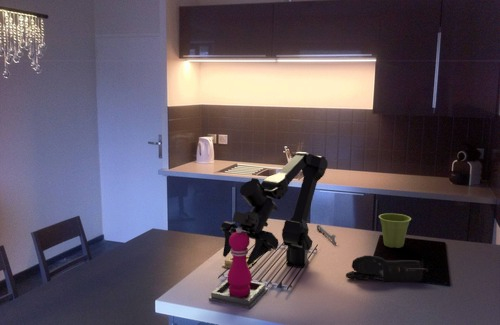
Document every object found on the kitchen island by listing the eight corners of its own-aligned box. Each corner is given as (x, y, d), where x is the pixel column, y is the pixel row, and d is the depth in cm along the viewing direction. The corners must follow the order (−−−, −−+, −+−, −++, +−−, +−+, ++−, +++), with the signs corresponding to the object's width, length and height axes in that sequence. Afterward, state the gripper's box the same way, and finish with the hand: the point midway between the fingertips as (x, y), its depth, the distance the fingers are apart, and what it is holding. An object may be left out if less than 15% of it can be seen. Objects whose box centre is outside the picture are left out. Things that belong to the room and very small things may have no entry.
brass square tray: (256, 261, 158) (256, 256, 157) (245, 271, 149) (245, 265, 149) (233, 257, 161) (233, 252, 161) (222, 266, 153) (222, 260, 153)
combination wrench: (316, 222, 193) (334, 236, 173) (319, 222, 193) (337, 236, 174) (316, 231, 193) (333, 245, 174) (319, 231, 194) (336, 245, 174)
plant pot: (412, 243, 176) (414, 215, 174) (405, 252, 166) (406, 223, 164) (382, 238, 182) (383, 211, 180) (373, 246, 172) (374, 218, 170)
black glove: (427, 284, 141) (429, 260, 140) (348, 284, 140) (350, 259, 138) (418, 275, 148) (420, 252, 146) (343, 275, 146) (344, 251, 145)
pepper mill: (253, 296, 130) (253, 230, 126) (228, 298, 129) (228, 231, 125) (249, 286, 137) (249, 223, 133) (226, 287, 136) (225, 224, 132)
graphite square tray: (267, 289, 136) (267, 283, 135) (249, 308, 124) (249, 301, 124) (229, 282, 141) (229, 276, 141) (208, 299, 129) (208, 292, 129)
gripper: (223, 195, 137) (198, 239, 130) (273, 205, 125) (247, 254, 118) (240, 214, 144) (217, 257, 137) (288, 226, 132) (265, 273, 126)
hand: (235, 260), depth 130 cm, fingers open, 9 cm apart
